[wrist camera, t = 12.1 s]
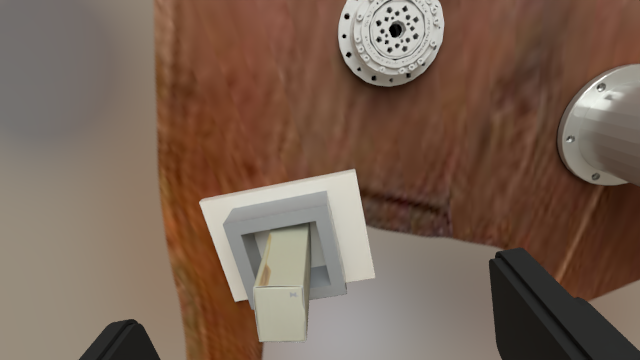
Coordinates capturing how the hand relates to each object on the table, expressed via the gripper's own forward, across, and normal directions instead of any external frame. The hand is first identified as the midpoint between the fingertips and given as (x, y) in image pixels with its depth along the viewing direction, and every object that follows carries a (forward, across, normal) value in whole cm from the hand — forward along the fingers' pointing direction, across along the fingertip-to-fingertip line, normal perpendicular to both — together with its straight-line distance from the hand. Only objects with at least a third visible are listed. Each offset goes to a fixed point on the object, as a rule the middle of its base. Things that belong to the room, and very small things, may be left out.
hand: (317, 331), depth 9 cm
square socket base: (+29, +8, +12) cm, 32 cm away
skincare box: (+28, +7, +12) cm, 32 cm away
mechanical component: (+30, -8, -8) cm, 32 cm away
